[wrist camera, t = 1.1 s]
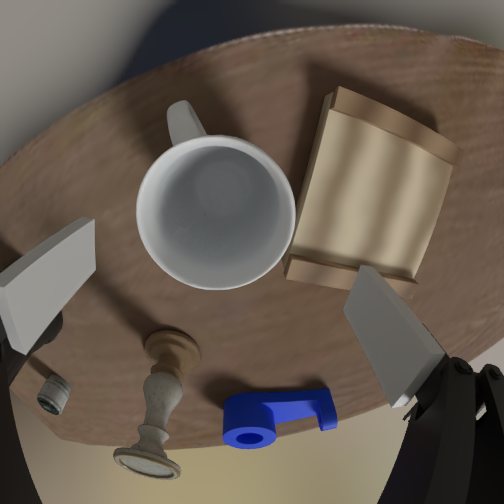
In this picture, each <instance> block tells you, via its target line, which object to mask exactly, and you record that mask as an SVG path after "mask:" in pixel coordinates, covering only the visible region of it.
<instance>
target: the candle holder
mask: <svg viewBox="0 0 504 504" xmlns="http://www.w3.org/2000/svg"><path fill="white" fill-rule="evenodd" d="M145 353H146V356H147V358H148V359H149V360H150V362H151V363H152V364H153V366H152V368H151V375H149V376H148V377H147V378H146V380H145V382H144V386H143V390H144V396H145V400H146V406H147V410H146V415H145V420H144V423H143V424H142V425H139V426H138V432H139V434H140V440H139V442H138V443H136V444H134V445H132V446H131V448H117V449H116V450H115V451H114V453H113V457H114V460H115V461H116V462H117V463H118V464H119V465H120V466H122V467H124V468H125V469H127V470H129V471H131V472H134V473H136V474H139V475H142V476H145V477H149V478H154V479H161V480H172V479H176V478H178V477H179V476H180V474H181V468H180V466H179V465H177V464H176V463H175V462H173V461H171V460H169V459H167V454H166V453H165V452H164V451H163V443H164V442H165V441H166V440H168V438H169V434H168V433H167V432H166V426H167V422H168V418H169V415H170V413H171V412H172V410H173V409H174V408H175V407H176V406H177V405H178V404H179V402H180V401H181V399H182V396H183V387H182V385H181V383H182V381H183V379H184V375H183V374H184V373H189V372H191V371H193V370H195V369H196V368H197V367H198V365H199V363H200V360H201V352H200V349H199V347H198V345H197V344H196V343H195V341H194V340H192V339H191V338H190V337H188V336H187V335H185V334H183V333H180V332H177V331H173V330H161V331H157V332H155V333H153V334H152V335H150V336H149V337H148V339H147V341H146V343H145Z"/></svg>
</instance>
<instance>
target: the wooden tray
mask: <svg viewBox="0 0 504 504" xmlns="http://www.w3.org/2000/svg"><path fill="white" fill-rule="evenodd" d="M463 154H464V150H463V149H461V148H460V147H458V146H457V145H455V144H454V143H452V142H451V141H449V140H447V139H446V138H444V137H443V136H441V135H439V134H438V133H436V132H434V131H433V130H431V129H429V128H428V127H426V126H424V125H422V124H421V123H419V122H417V121H415V120H413V119H411V118H410V117H408V116H406V115H404V114H402V113H400V112H398V111H396V110H394V109H392V108H390V107H388V106H386V105H383V104H381V103H379V102H377V101H375V100H372V99H370V98H368V97H365V96H363V95H361V94H358V93H356V92H353V91H351V90H348V89H346V88H343V87H340V86H338V87H336V88H334V92H332V93H330V94H328V95H326V96H325V98H324V102H323V106H322V110H321V114H320V118H319V122H318V126H317V130H316V134H315V138H314V142H313V146H312V150H311V153H310V157H309V161H308V165H307V169H306V172H305V176H304V180H303V183H302V187H301V191H300V194H299V198H298V202H297V205H296V209H295V213H296V218H295V227H294V231H293V235H292V238H291V241H290V244H289V246H288V248H287V250H286V251H285V253H284V255H283V256H282V258H281V259H282V262H283V265H284V269H285V270H284V275H285V278H286V279H289V280H294V281H300V282H306V283H311V284H317V285H323V286H329V287H334V288H340V289H346V290H351V289H352V287H353V284H354V281H355V279H356V276H357V274H358V271H359V268H360V266H361V265H366V266H371V267H374V268H375V269H376V270H377V272H378V273H379V274H380V275H381V276H382V277H383V278H384V279H385V280H386V282H387V283H388V284H389V285H390V286H391V287H392V288H393V289H394V291H395V292H396V293H397V294H398V295H399V296H400V297H401V298H402V299H409V300H411V299H412V297H413V295H414V293H415V291H416V289H417V287H418V285H419V284H418V283H417V282H416V281H415V280H414V276H415V274H416V272H417V270H418V267H419V265H420V263H421V260H422V258H423V255H424V253H425V251H426V248H427V246H428V243H429V240H430V238H431V235H432V232H433V230H434V227H435V224H436V221H437V218H438V215H439V212H440V209H441V206H442V203H443V200H444V197H445V193H446V190H447V186H448V183H449V179H450V175H451V172H452V168H453V166H454V167H458V168H460V167H461V163H462V158H463Z"/></svg>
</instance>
